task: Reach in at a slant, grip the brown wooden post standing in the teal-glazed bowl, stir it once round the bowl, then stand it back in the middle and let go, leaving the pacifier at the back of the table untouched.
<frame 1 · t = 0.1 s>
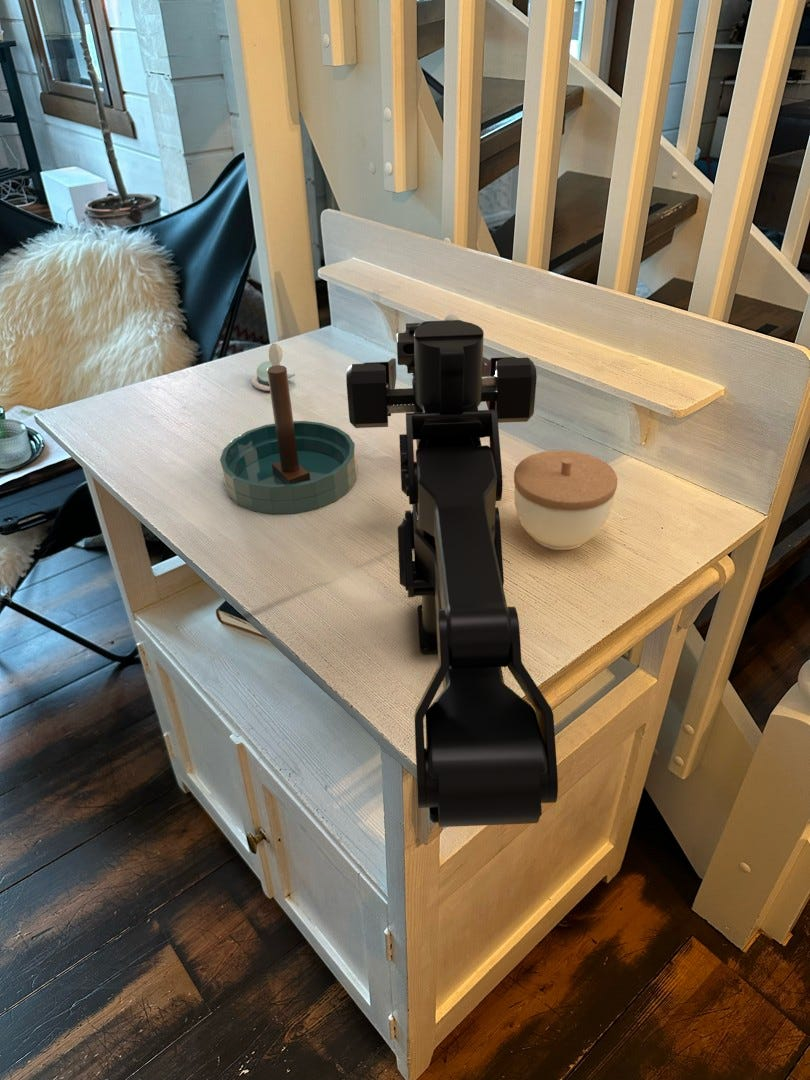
hand: (435, 360, 83), 17 cm above the cabinet top, tool horizontal, fingers open, 9 cm apart
pacifier: (272, 385, 119), on the cabinet top
trinket box: (558, 535, 85), on the cabinet top
brown wooden post: (291, 477, 94), point 1 cm above the cabinet top, touching bowl
pepper mill: (450, 470, 97), on the cabinet top
bowl: (292, 483, 95), on the cabinet top
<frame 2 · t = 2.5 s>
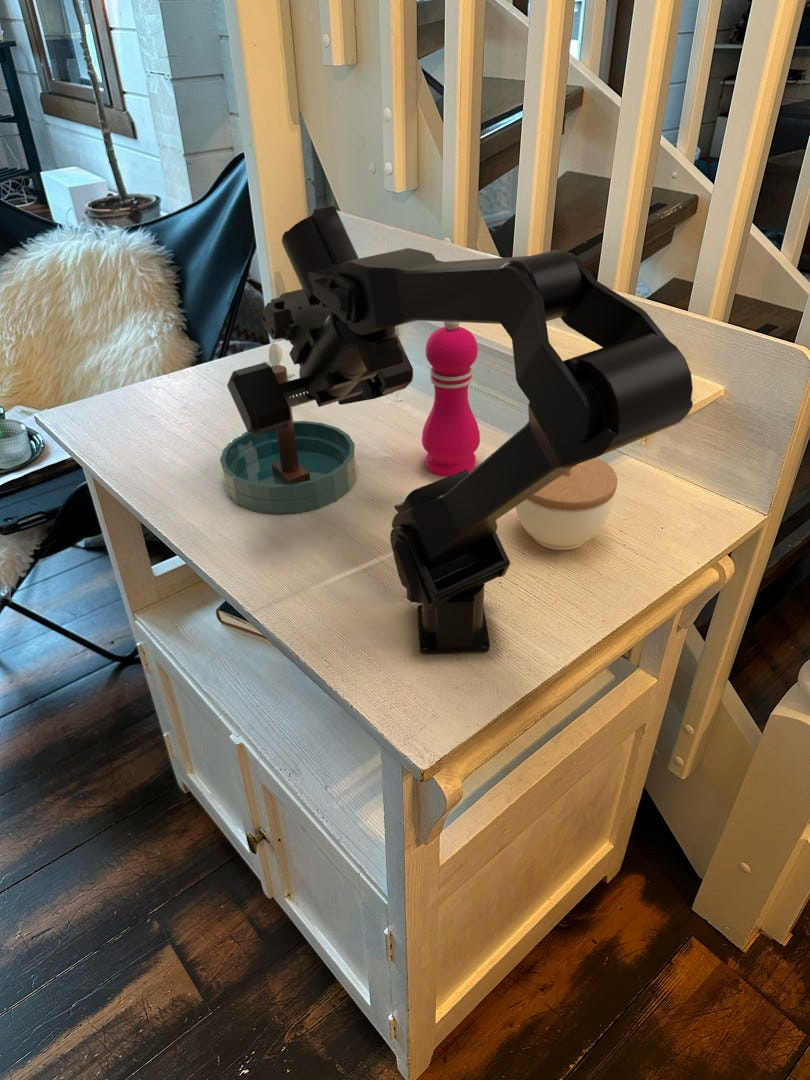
hand: (303, 411, 84), 12 cm above the cabinet top, tool tilted 45°, fingers open, 9 cm apart
nothing on the cabinet top moved.
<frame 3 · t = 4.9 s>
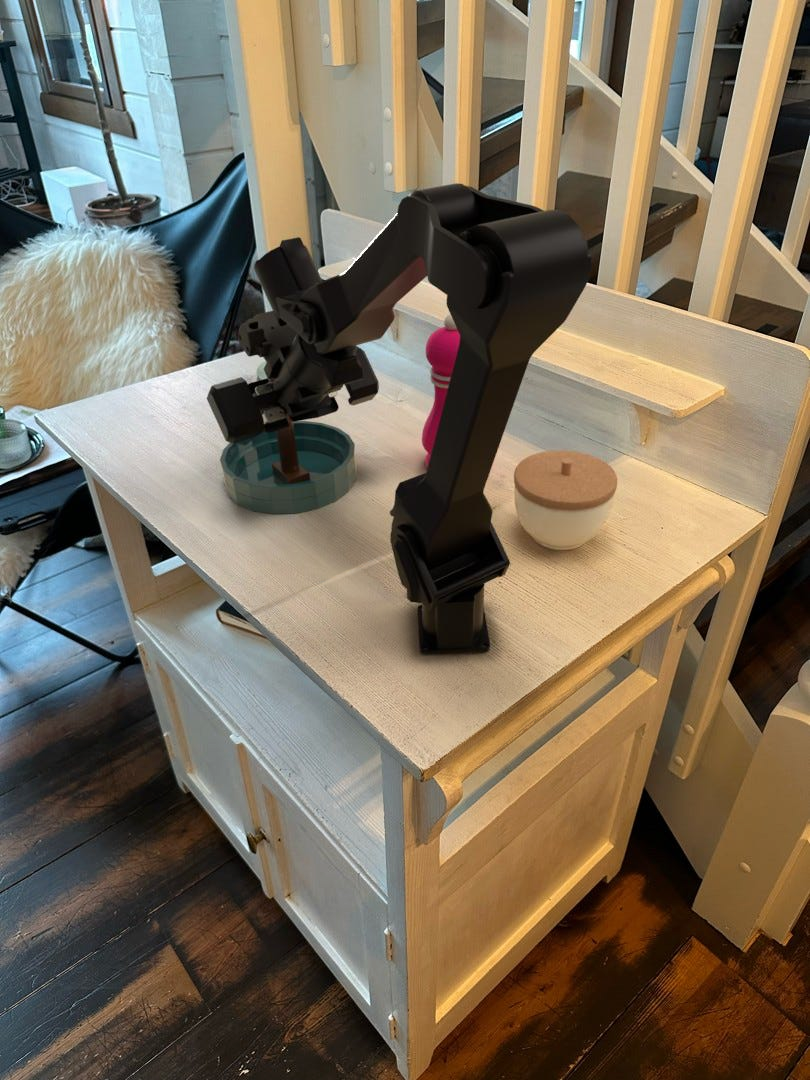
hand: (279, 421, 91), 8 cm above the cabinet top, tool tilted 45°, fingers closed on brown wooden post, 2 cm apart
brown wooden post: (291, 477, 94), point 1 cm above the cabinet top, touching bowl, gripper
everything else where it was.
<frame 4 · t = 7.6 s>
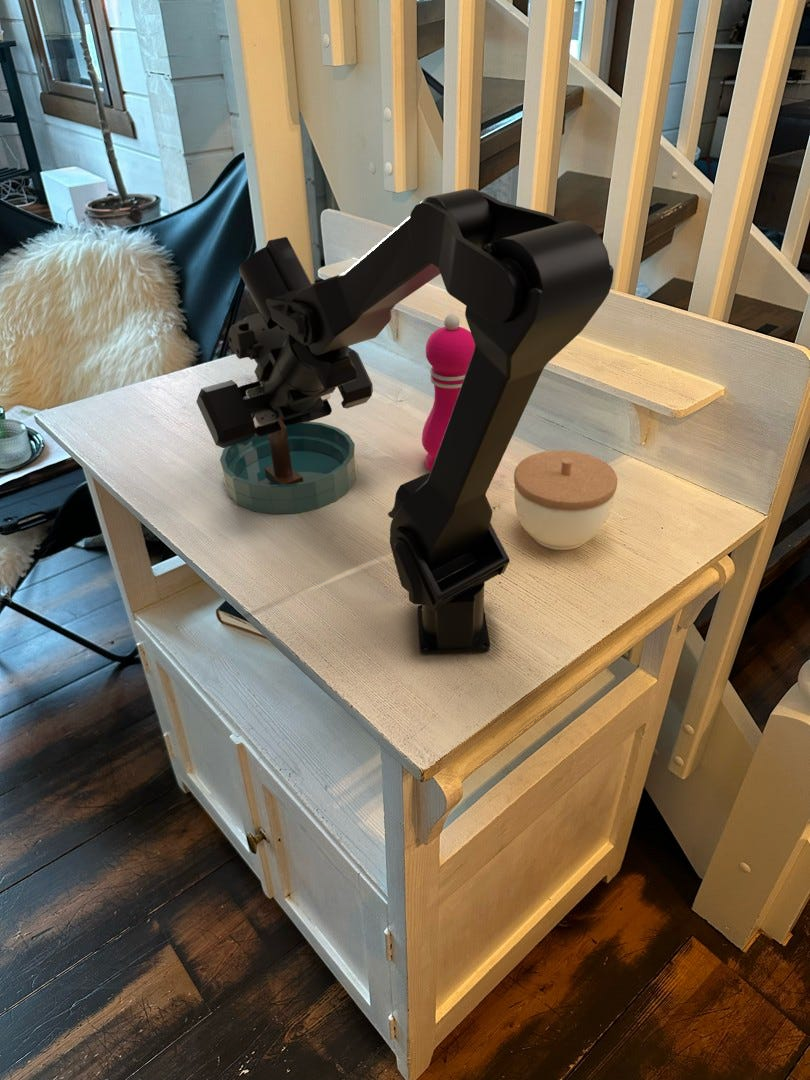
hand: (271, 424, 89), 9 cm above the cabinet top, tool tilted 45°, fingers closed on brown wooden post, 2 cm apart
brown wooden post: (284, 482, 93), point 1 cm above the cabinet top, touching gripper
everything else where it was.
when the fingers open (8 cm above the cabinet top, at t = 10.2 s): brown wooden post stays where it is, resting on bowl.
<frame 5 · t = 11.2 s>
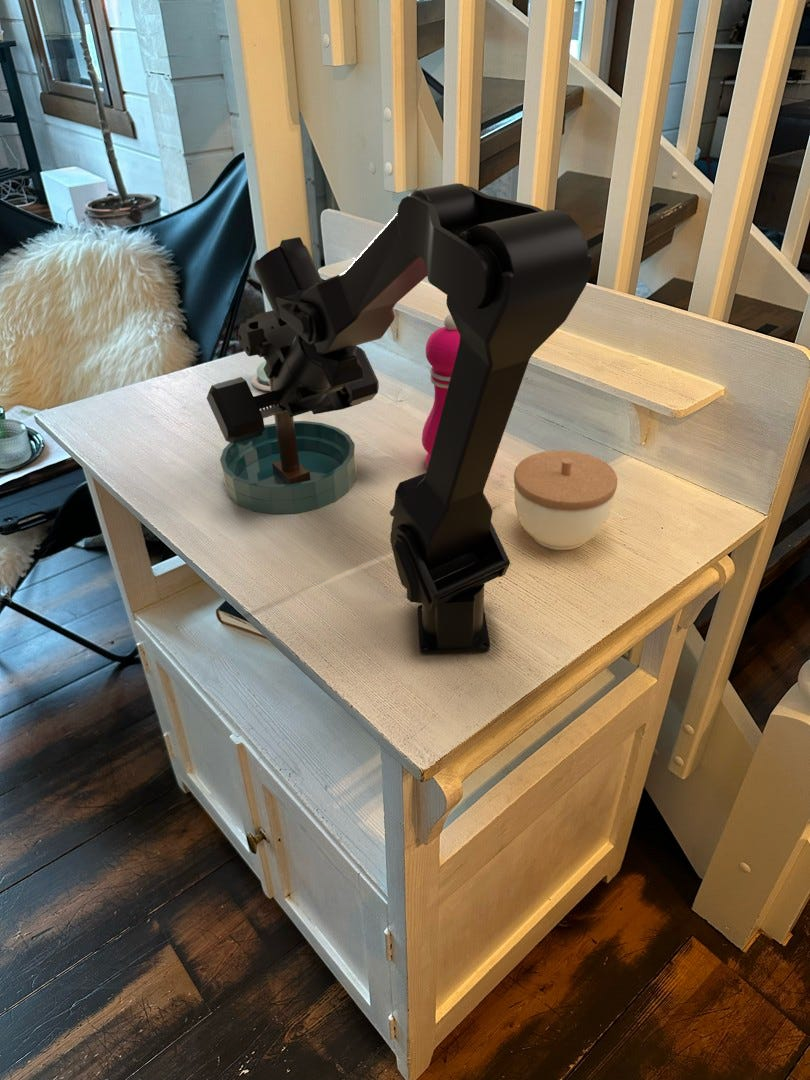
hand: (279, 420, 91), 8 cm above the cabinet top, tool tilted 45°, fingers open, 9 cm apart
brown wooden post: (291, 476, 95), point 1 cm above the cabinet top, touching bowl
everything else where it was.
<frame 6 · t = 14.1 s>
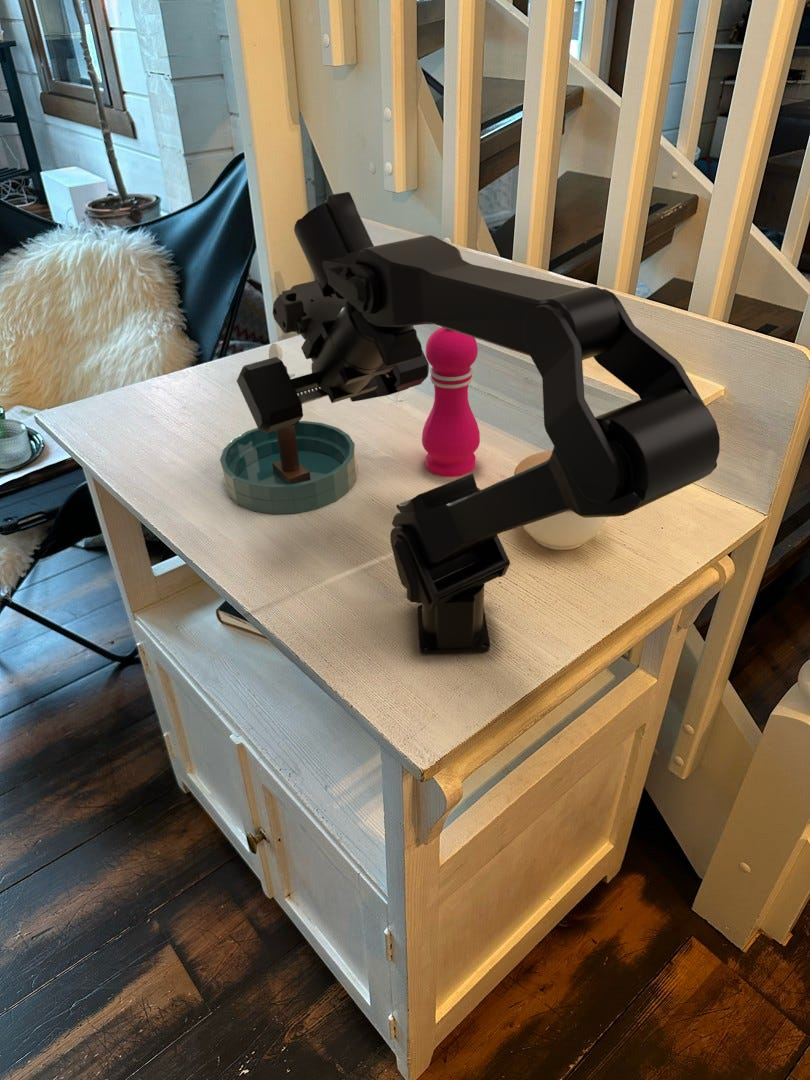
hand: (314, 408, 81), 14 cm above the cabinet top, tool tilted 45°, fingers open, 9 cm apart
nothing on the cabinet top moved.
at the end: brown wooden post inside the target area in the bowl (0.2 cm from its centre), point 0.8 cm above the bowl's base; brown wooden post tilted 0°; pacifier moved 0.2 cm from its start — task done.
